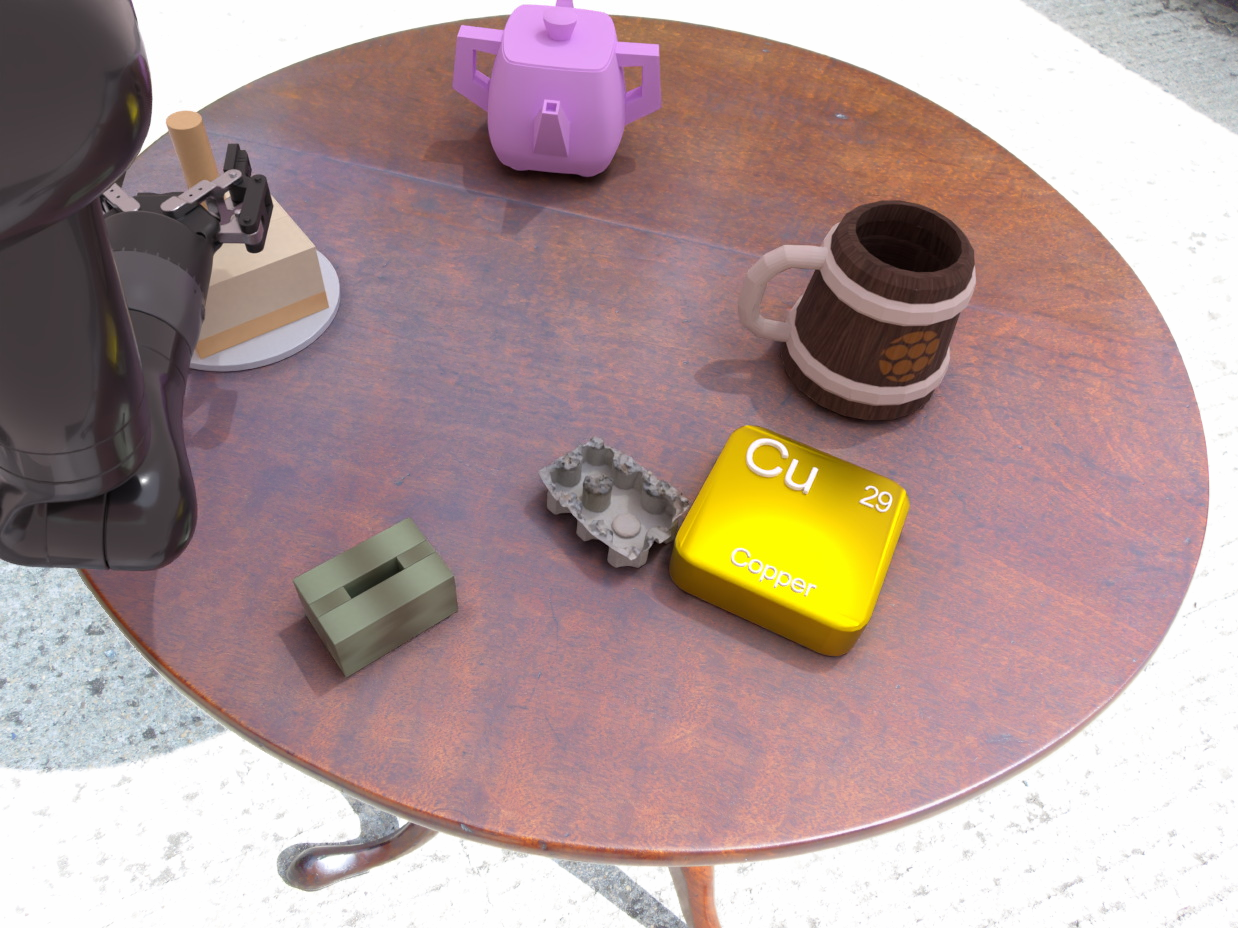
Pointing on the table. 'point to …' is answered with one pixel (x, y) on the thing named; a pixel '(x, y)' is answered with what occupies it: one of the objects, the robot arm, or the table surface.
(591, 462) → the egg carton
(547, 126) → the teapot
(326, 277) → the plate
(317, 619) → the knife block
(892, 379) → the mug
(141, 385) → the robot arm
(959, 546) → the table surface
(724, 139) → the table surface
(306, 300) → the wooden slotted box
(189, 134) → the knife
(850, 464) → the element tile
